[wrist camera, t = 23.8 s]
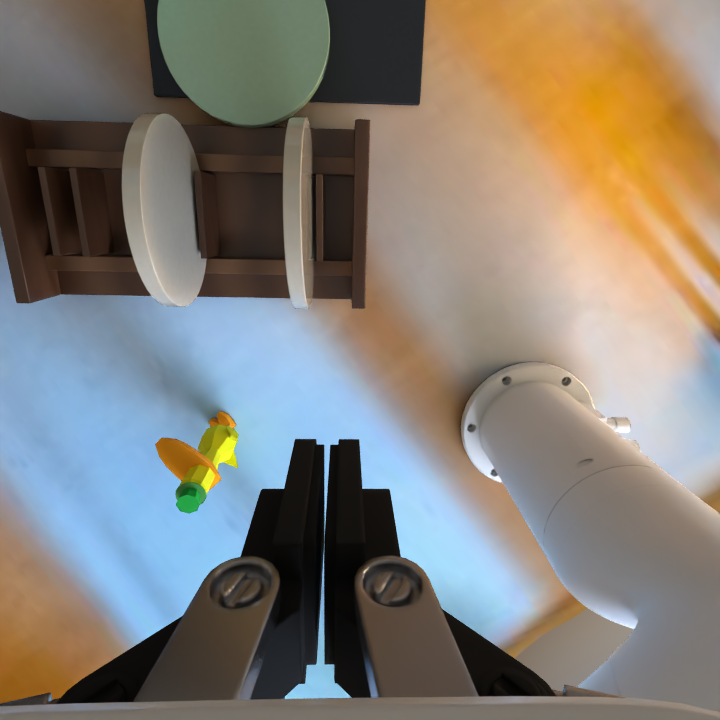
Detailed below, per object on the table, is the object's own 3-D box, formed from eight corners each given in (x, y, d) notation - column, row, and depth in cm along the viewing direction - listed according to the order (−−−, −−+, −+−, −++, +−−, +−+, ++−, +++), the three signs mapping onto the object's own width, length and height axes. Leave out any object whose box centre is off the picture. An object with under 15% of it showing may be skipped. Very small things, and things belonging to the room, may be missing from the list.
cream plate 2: (314, 134, 34) (299, 95, 23) (315, 293, 38) (303, 327, 26) (301, 134, 34) (279, 94, 23) (303, 293, 38) (286, 327, 26)
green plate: (245, -120, 30) (119, 17, 31) (364, 43, 32) (242, 161, 34) (249, -108, 30) (126, 23, 32) (364, 49, 33) (245, 163, 35)
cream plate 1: (200, 131, 34) (127, 89, 22) (212, 291, 38) (155, 325, 26) (187, 131, 34) (106, 89, 22) (200, 291, 38) (137, 325, 26)
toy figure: (181, 409, 42) (121, 481, 31) (207, 384, 42) (155, 449, 30) (236, 455, 44) (198, 540, 33) (261, 431, 43) (231, 510, 32)
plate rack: (366, 132, 36) (370, 119, 31) (362, 296, 40) (365, 308, 35) (27, 122, 35) (-26, 107, 30) (58, 291, 39) (16, 303, 34)
